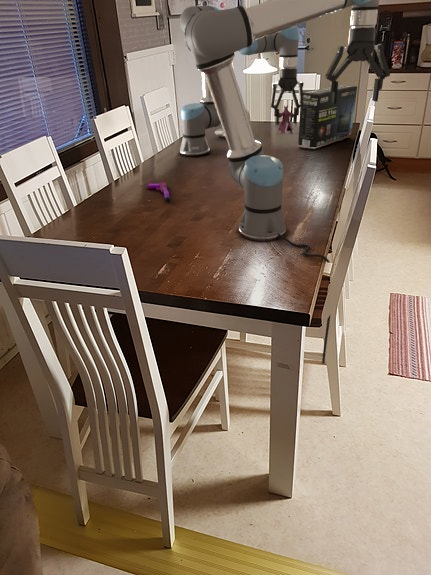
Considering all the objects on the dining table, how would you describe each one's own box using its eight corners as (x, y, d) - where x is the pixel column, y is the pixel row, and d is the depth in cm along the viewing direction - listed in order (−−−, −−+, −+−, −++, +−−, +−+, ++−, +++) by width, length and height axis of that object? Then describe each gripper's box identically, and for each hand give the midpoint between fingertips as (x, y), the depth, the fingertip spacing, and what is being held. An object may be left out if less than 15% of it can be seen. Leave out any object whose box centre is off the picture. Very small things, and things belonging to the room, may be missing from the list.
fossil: (237, 133, 254) (219, 116, 257) (227, 149, 260) (209, 132, 263) (253, 132, 267) (235, 116, 271) (243, 148, 274) (226, 131, 277)
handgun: (147, 187, 192) (147, 183, 191) (166, 185, 193) (165, 180, 192) (151, 204, 175) (150, 199, 174) (171, 201, 176) (170, 197, 175)
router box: (314, 151, 231) (318, 94, 217) (296, 148, 237) (299, 92, 224) (352, 138, 251) (358, 85, 238) (335, 135, 258) (340, 83, 245)
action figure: (292, 130, 215) (292, 102, 208) (296, 135, 207) (296, 106, 200) (274, 132, 215) (274, 104, 208) (277, 136, 207) (277, 108, 200)
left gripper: (309, 65, 200) (306, 120, 212) (263, 68, 199) (262, 122, 211) (313, 67, 194) (309, 124, 205) (266, 69, 193) (265, 126, 205)
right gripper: (398, 24, 142) (387, 98, 153) (318, 28, 141) (313, 101, 152) (408, 25, 135) (396, 101, 146) (325, 29, 134) (319, 105, 145)
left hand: (286, 123), depth 208 cm, fingers closed on action figure, 7 cm apart
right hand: (354, 102), depth 149 cm, fingers open, 13 cm apart
